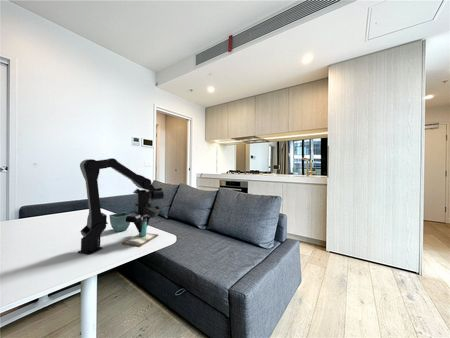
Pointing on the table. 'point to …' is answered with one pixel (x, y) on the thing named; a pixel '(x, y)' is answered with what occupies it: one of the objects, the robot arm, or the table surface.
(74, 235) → the table surface
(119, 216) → the flower pot
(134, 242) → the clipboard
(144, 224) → the teal capped bottle
